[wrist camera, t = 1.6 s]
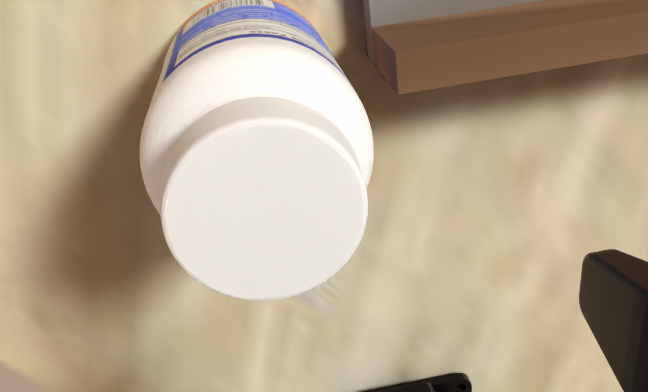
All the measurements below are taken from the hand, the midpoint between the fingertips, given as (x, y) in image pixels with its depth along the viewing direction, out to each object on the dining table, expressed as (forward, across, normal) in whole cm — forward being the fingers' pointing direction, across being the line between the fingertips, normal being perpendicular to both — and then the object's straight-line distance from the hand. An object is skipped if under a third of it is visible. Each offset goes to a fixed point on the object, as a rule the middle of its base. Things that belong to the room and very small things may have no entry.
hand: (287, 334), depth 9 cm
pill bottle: (+13, 0, 0) cm, 13 cm away
